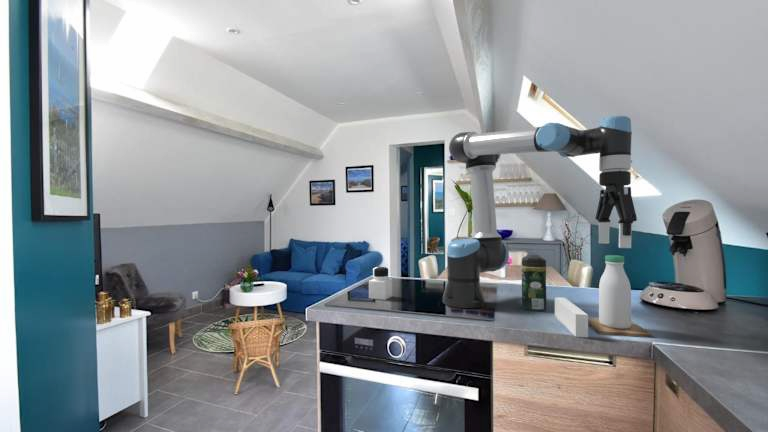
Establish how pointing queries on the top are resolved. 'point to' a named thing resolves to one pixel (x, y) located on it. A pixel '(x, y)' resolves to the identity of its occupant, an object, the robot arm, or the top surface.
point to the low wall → (571, 317)
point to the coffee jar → (534, 283)
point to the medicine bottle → (380, 284)
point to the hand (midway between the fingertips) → (613, 245)
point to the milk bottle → (615, 294)
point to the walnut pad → (605, 330)
